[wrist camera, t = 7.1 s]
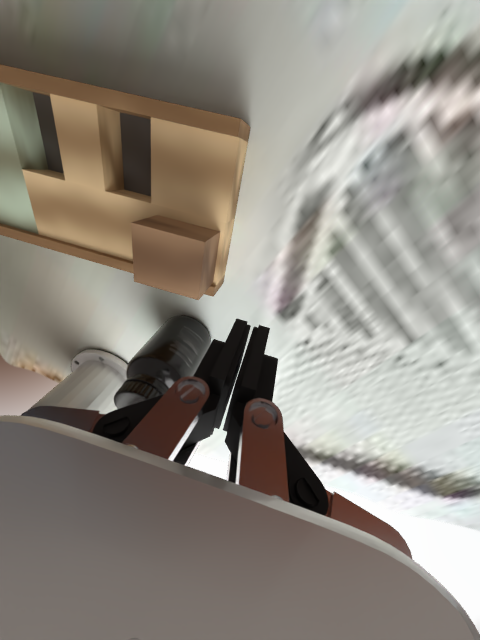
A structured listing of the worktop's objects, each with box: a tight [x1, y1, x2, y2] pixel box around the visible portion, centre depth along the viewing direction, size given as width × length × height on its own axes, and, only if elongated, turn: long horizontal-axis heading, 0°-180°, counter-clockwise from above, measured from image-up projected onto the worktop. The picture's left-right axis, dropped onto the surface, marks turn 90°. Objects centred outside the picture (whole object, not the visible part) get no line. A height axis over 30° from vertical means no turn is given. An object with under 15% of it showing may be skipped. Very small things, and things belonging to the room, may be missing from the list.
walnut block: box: [131, 215, 220, 300], centre depth 21 cm, size 5×6×4 cm
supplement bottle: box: [114, 316, 211, 409], centre depth 27 cm, size 7×7×12 cm
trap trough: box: [0, 64, 250, 296], centre depth 22 cm, size 14×28×6 cm, turn 79°
